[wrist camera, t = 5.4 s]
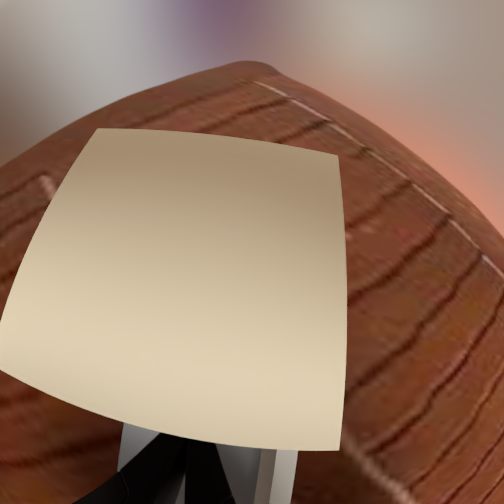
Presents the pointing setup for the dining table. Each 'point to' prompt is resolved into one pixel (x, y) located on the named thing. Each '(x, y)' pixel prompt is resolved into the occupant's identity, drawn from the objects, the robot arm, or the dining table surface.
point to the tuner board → (232, 468)
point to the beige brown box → (190, 290)
